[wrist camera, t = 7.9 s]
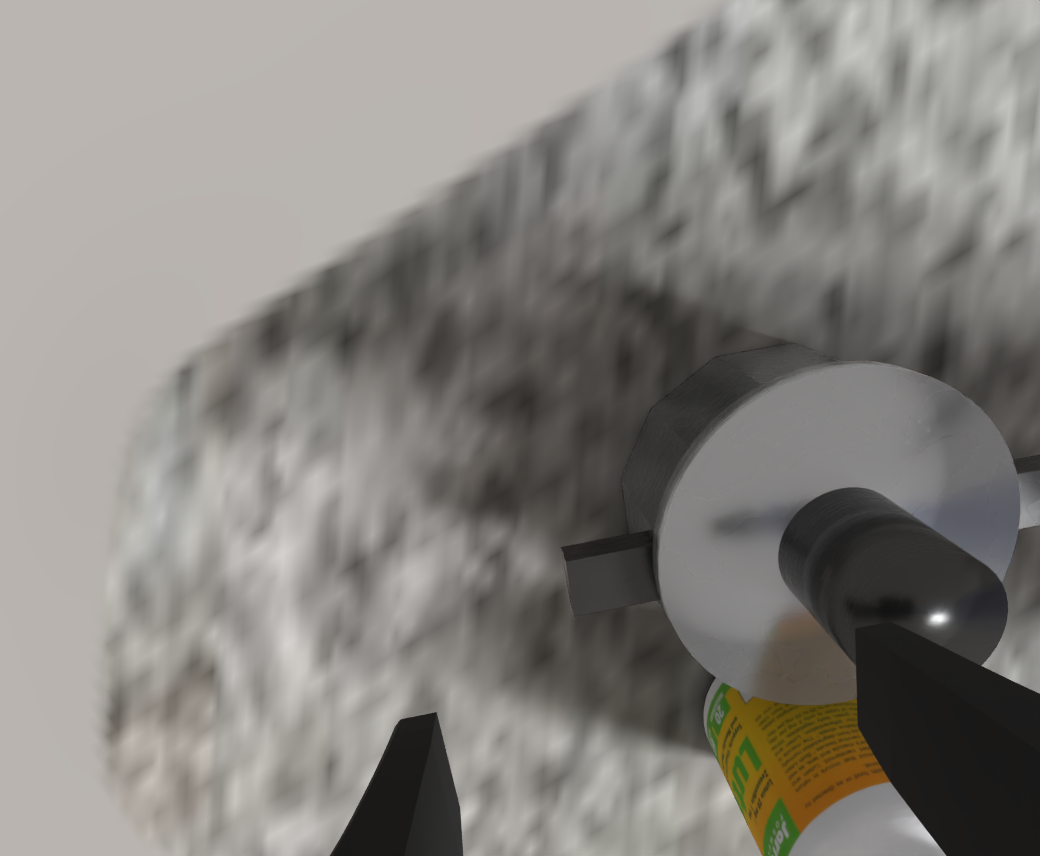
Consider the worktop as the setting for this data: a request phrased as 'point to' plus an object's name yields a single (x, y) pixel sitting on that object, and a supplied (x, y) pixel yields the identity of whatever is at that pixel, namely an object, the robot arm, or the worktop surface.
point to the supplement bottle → (809, 779)
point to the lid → (836, 528)
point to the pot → (662, 443)
